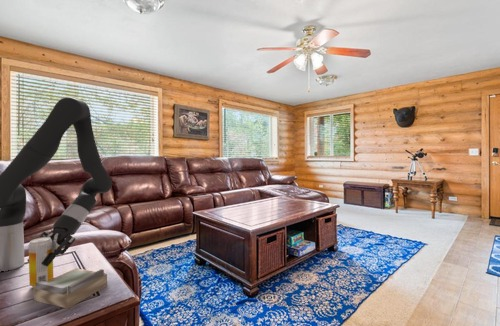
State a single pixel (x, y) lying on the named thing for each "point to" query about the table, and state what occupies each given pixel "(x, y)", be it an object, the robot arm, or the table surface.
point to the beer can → (39, 260)
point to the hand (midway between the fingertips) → (37, 263)
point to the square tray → (70, 287)
